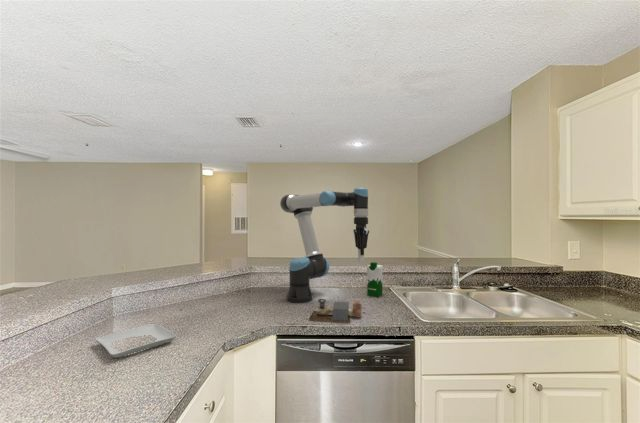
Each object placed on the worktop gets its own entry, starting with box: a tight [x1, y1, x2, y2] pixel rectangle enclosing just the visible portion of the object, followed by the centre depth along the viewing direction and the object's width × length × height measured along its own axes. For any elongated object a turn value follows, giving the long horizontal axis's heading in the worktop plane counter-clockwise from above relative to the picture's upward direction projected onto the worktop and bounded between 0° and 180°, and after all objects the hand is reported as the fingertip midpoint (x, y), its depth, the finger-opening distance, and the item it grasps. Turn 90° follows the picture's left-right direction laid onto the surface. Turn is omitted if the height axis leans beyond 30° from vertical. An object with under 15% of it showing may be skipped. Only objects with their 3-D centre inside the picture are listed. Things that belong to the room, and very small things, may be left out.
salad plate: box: [95, 322, 178, 358], centre depth 109 cm, size 21×21×3 cm
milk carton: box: [366, 261, 384, 298], centre depth 178 cm, size 9×9×20 cm
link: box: [316, 300, 362, 318], centre depth 140 cm, size 22×5×6 cm, turn 81°
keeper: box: [308, 298, 352, 324], centre depth 138 cm, size 19×12×7 cm, turn 82°
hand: (361, 261), depth 154 cm, fingers closed
